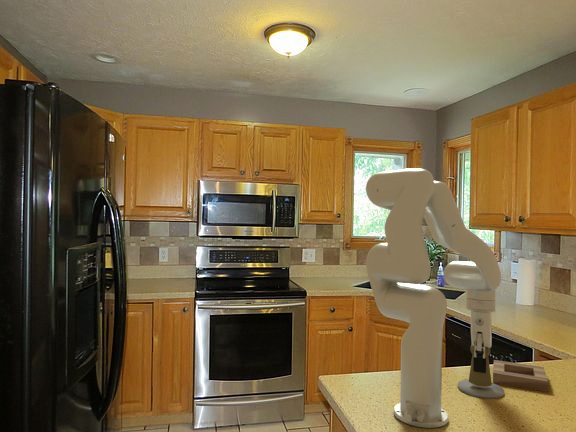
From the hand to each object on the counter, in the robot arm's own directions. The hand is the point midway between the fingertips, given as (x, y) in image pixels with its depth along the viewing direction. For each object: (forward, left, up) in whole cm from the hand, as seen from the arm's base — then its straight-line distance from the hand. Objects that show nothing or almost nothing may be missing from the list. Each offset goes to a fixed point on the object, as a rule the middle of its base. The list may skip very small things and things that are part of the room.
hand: (480, 368), depth 120 cm
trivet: (0, 0, -6) cm, 6 cm away
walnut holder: (+15, -10, -6) cm, 19 cm away
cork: (0, 0, -4) cm, 4 cm away
